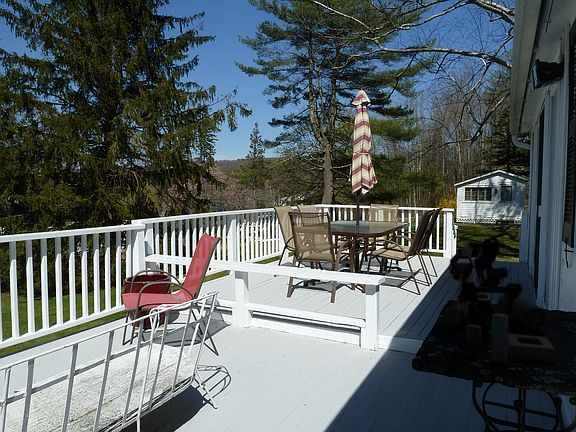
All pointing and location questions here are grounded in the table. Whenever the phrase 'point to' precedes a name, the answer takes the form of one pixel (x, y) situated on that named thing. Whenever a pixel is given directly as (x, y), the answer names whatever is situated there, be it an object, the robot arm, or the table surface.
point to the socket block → (530, 348)
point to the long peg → (500, 338)
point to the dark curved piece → (524, 313)
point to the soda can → (461, 312)
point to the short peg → (474, 338)
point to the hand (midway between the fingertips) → (495, 313)
